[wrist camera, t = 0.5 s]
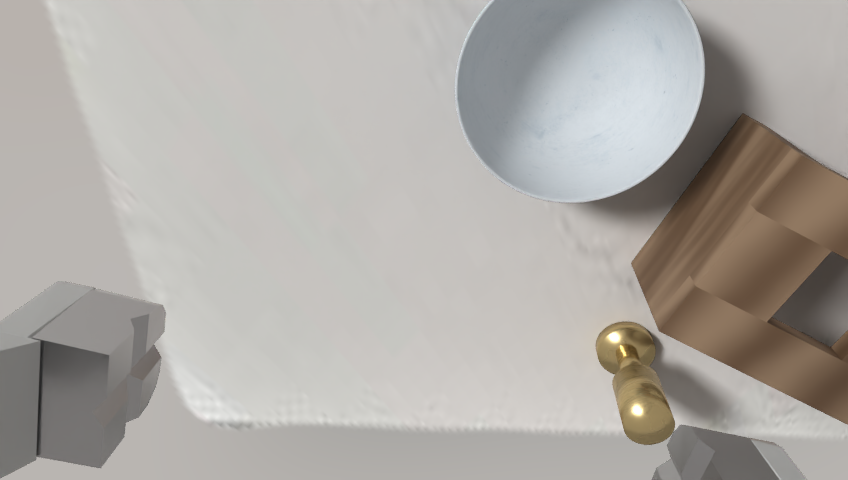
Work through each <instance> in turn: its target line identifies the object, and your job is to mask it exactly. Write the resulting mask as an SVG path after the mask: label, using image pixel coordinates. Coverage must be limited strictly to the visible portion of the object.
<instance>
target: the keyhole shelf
mask: <svg viewBox="0 0 848 480" xmlns="http://www.w3.org/2000/svg"><path fill="white" fill-rule="evenodd" d="M831 251H833V252H834V253H836V254H838V255H840V256H842V257H844V258H846V259H848V179H847V178H846V177H844V176H842V175H840V174H838V173H836V172H835V171H833V170H831V169H829V168H827V167H825V166H823V165H822V164H820V163H818V162H817V161H815V160H814V159H813V158H811V157H810V156H808V155H807V154H805V153H804V152H803V151H801V150H800V149H798V148H797V147H795V146H794V145H793V144H791V143H790V142H788V141H787V140H785V139H784V138H782V137H781V136H780V135H778V134H777V133H775V132H774V131H772V130H771V129H770V128H768V127H767V126H765V125H763V124H761V123H760V122H758V121H756V120H754V119H752V118H750V117H749V116H747V115H745V114H742V115H741V117H740V118H739V119H738V121H737V122H736V123H735V125H734V126H733V127H732V129H731V130H730V131H729V133H728V134H727V135H726V137H725V138H724V139H723V141H722V142H721V143H720V145H719V146H718V147H717V149H716V150H715V151H714V153H713V154H712V155H711V157H710V158H709V159H708V161H707V162H706V163H705V165H704V166H703V167H702V169H701V170H700V171H699V173H698V174H697V175H696V177H695V178H694V180H693V181H692V182H691V184H690V185H689V186H688V188H687V189H686V190H685V192H684V193H683V194H682V196H681V197H680V198H679V200H678V201H677V202H676V204H675V205H674V206H673V208H672V209H671V210H670V212H669V213H668V214H667V216H666V217H665V218H664V220H663V221H662V222H661V224H660V225H659V226H658V228H657V229H656V230H655V232H654V233H653V234H652V236H651V237H650V238H649V240H648V241H647V242H646V244H645V245H644V246H643V248H642V249H641V250H640V252H639V253H638V255H637V256H636V257H635V259H634V260H633V261H632V263H631V264H632V267H633V269H634V271H635V274H636V276H637V279H638V281H639V284H640V286H641V288H642V291H643V293H644V296H645V298H646V301H647V303H648V305H649V308H650V310H651V313H652V315H653V318H654V320H655V322H656V325H657V327H658V330H659V331H660V332H662V333H664V334H666V335H668V336H670V337H672V338H674V339H676V340H678V341H680V342H682V343H684V344H686V345H688V346H690V347H692V348H694V349H696V350H698V351H700V352H702V353H704V354H706V355H708V356H710V357H712V358H714V359H716V360H718V361H720V362H722V363H724V364H726V365H728V366H730V367H732V368H734V369H736V370H738V371H740V372H743V373H745V374H747V375H749V376H751V377H753V378H755V379H757V380H759V381H761V382H763V383H765V384H767V385H769V386H771V387H773V388H775V389H777V390H779V391H781V392H783V393H785V394H787V395H789V396H791V397H793V398H795V399H797V400H799V401H801V402H803V403H805V404H807V405H809V406H811V407H813V408H815V409H817V410H819V411H821V412H823V413H825V414H827V415H829V416H831V417H833V418H835V419H837V420H839V421H841V422H843V423H845V424H848V331H847V332H846V333H845V334H844V335H843V336H842V337H841V338H840V339H839V340H838V341H837V342H836V343H835V344H834V345H833V346H832V347H829V346H827V345H825V344H823V343H822V342H820V341H818V340H816V339H814V338H812V337H810V336H808V335H806V334H804V333H802V332H800V331H798V330H796V329H794V328H792V327H790V326H788V325H786V324H784V323H782V322H780V321H778V320H776V319H774V318H772V316H773V315H774V314H775V313H776V311H777V310H778V309H779V308H780V307H781V306H782V305H783V304H784V303H785V302H786V301H787V299H788V298H789V297H790V296H791V295H792V294H793V293H794V292H795V291H796V290H797V288H798V287H799V286H800V285H801V284H802V283H803V282H804V281H805V280H806V279H807V277H808V276H809V275H810V274H811V273H812V272H813V271H814V270H815V269H816V268H817V267H818V265H819V264H820V263H821V262H822V261H823V260H824V259H825V258H826V257H827V256H828V254H829V253H830V252H831Z"/></svg>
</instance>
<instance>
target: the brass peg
mask: <svg viewBox="0 0 848 480" xmlns="http://www.w3.org/2000/svg"><path fill="white" fill-rule="evenodd" d="M596 351H597V355H598V359H599V362H600V364H601V365H602V367H603V368H604V369H606V370H607V371H609V372H610V373H613V374H615V376H614V378H613V382H612V385H613V389H614V393H615V397H616V401H617V405H618V409H619V413H620V416H621V420H622V424H623V428H624V431H625V434H626V435H627V437H628V438H629V439H631V440H632V441H634V442H636V443H639V444H644V445H652V444H656V443H660V442H662V441H664V440H666V439H667V438H668V437H669V436H670V435H671V434H672V433H673V431H674V428H675V421H674V418H673V415H672V413H671V410H670V407H669V404H668V402H667V399H666V396H665V393H664V391H663V388H662V385H661V383H660V380H659V377H658V375H657V373H656V372H655V371H654V370H653V369H652V368H650V367H649V366H650V365H651V363H652V362H653V360H654V358H655V353H656V349H655V345H654V342H653V340H652V337H651V335H650V333H649V332H648V330H647V329H646V328H644V327H643V326H641V325H639V324H637V323H633V322H618V323H615V324H612V325H610V326H608V327H607V328H605V329H604V330H603V331H602V332H601V333H600V334H599V336H598V338H597V341H596Z"/></svg>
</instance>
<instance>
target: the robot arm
mask: <svg viewBox="0 0 848 480" xmlns="http://www.w3.org/2000/svg"><path fill="white" fill-rule="evenodd" d="M165 317H166V312H165V309H164V307H163V305H161V304H157V303H153V302H149V301H144V300H140V299H136V298H132V297H128V296H124V295H120V294H116V293H112V292H108V291H104V290H100V289H96V288H94V287H89V286H84V285H80V284H75V283H70V282H62V281H58V282H56V283H54V284H53V285H52V286H50V287H49V288H47V289H46V290H44V291H43V292H41V293H40V294H39V295H38V296H36V297H35V298H33V299H32V300H30V301H29V302H27V303H26V304H24V305H23V306H22V307H20V308H19V309H17V310H16V311H14V312H13V313H12V314H10V315H9V316H7V317H6V318H5V319H3V320H2V321H1V322H0V478H2V477H4V476H6V475H8V474H10V473H12V472H14V471H15V470H17V469H19V468H21V467H23V466H25V465H27V464H29V463H31V462H33V461H35V460H36V457H41V458H47V459H53V460H58V461H64V462H69V463H74V464H80V465H86V466H91V467H96V468H101V467H102V466H103V464H104V463H105V462H106V460H107V459H108V458H109V456H110V455H111V454H112V453H113V451H114V450H115V449H116V447H117V446H118V445H119V443H120V442H121V441H122V439H123V438H124V434H125V425H126V422H129V421H131V420H133V419H136V418H138V417H139V416H140V415H141V413H142V412H143V411H144V409H145V408H146V406H147V405H148V403H149V400H150V399H151V396H152V394H153V392H154V390H155V387H156V384H157V380H158V376H159V372H160V365H161V356H160V354H159V352H158V350H157V349H156V347H155V345H154V343H155V342H156V341H157V340H158V339H159V338H160V336H161V335H162V334H163V333H164V330H165ZM667 447H668V450H669V453H670V457H671V459H670V460H668V461H666V462H665V463H664V464H662V465H660V466H659V467H657V468H656V470H655V473H654V475H653V478H652V480H807V479H806V477H805V476H804V475H803V474H802V472H801V471H800V470H799V469H798V467H797V466H796V465H795V463H794V462H793V461H792V459H791V458H790V457H789V456H788V454H787V453H786V452H785V451H784V449H783V448H782V447H780V446H779V445H777V444H775V443H773V442H769V441H763V440H758V439H752V438H747V437H742V436H737V435H732V434H727V433H722V432H717V431H712V430H707V429H702V428H697V427H692V426H687V425H680V426H679V427H678V428H677V429H676V430H675V431H674V432H673V434H672V436H671V438H670V440H669V442H668V444H667Z"/></svg>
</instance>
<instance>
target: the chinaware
mask: <svg viewBox="0 0 848 480" xmlns="http://www.w3.org/2000/svg"><path fill="white" fill-rule="evenodd" d="M704 81H705V58H704V51H703V45H702V41H701V37H700V34H699V31H698V28H697V26H696V23H695V21H694V19H693V17H692V15H691V13H690V11H689V10H688V8H687V7H686V5H685V4H684V2H683V1H682V0H491V1H490V2H489V3H488V4H487V5H486V6H485V8H484V9H483V10H482V11H481V13H480V14H479V16H478V17H477V19H476V20H475V22H474V23H473V25H472V27H471V29H470V30H469V32H468V35H467V37H466V39H465V41H464V44H463V46H462V49H461V52H460V56H459V59H458V64H457V69H456V77H455V102H456V109H457V115H458V119H459V122H460V126H461V129H462V131H463V134H464V136H465V138H466V141H467V142H468V144H469V146H470V148H471V150H472V151H473V153H474V154H475V156H476V157H477V158H478V160H479V161H480V162H481V163H482V164H483V166H484V167H485V168H486V169H487V170H488V171H489V172H490V173H491V174H492V175H494V176H495V177H496V178H497V179H499V180H500V181H501V182H503V183H504V184H506V185H507V186H509V187H511V188H512V189H514V190H516V191H518V192H520V193H523V194H525V195H528V196H530V197H533V198H537V199H541V200H545V201H550V202H559V203H581V202H589V201H595V200H600V199H604V198H607V197H610V196H613V195H616V194H619V193H621V192H623V191H626V190H628V189H630V188H632V187H634V186H635V185H637V184H639V183H640V182H642V181H643V180H645V179H646V178H648V177H649V176H651V175H652V174H653V173H654V172H656V171H657V170H658V169H659V168H660V167H661V166H662V165H664V164H665V163H666V162H667V161H668V159H669V158H670V157H671V156H672V155H673V154H674V153H675V151H676V150H677V149H678V148H679V146H680V145H681V143H682V142H683V140H684V139H685V137H686V136H687V134H688V132H689V130H690V128H691V126H692V124H693V122H694V120H695V117H696V115H697V112H698V109H699V106H700V103H701V99H702V95H703V89H704Z"/></svg>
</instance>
